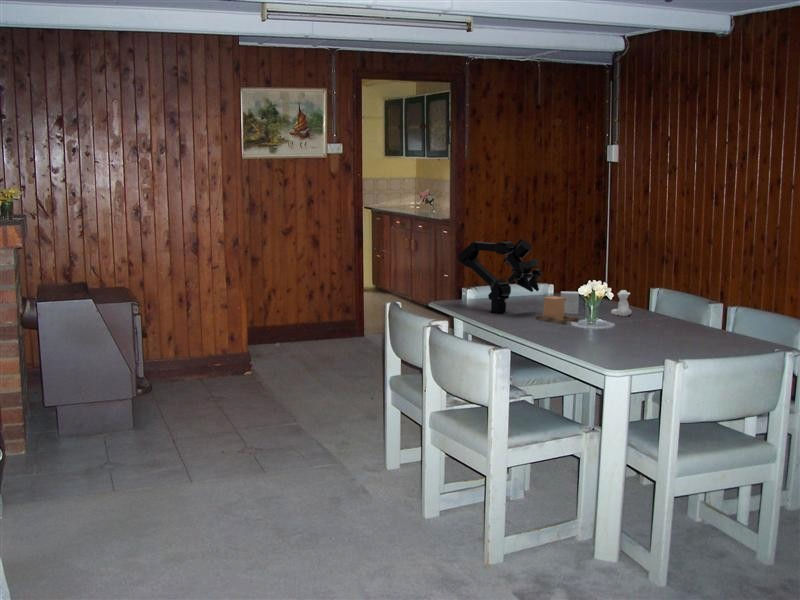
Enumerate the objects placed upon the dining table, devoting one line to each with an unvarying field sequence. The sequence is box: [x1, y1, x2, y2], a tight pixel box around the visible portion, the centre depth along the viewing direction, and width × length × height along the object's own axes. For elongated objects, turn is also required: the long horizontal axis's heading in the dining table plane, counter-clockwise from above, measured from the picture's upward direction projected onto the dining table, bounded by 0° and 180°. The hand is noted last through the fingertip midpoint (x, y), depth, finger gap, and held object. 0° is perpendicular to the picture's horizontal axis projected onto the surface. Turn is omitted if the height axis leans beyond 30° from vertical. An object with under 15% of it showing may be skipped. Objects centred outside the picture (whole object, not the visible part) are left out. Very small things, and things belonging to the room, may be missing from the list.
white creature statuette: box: [610, 289, 632, 317], centre depth 404 cm, size 10×9×12 cm
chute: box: [535, 314, 580, 326], centre depth 383 cm, size 18×10×3 cm, turn 43°
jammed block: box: [542, 295, 565, 320], centre depth 385 cm, size 6×7×10 cm
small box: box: [559, 290, 580, 315], centre depth 404 cm, size 8×6×10 cm
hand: (535, 291), depth 391 cm, fingers open, 4 cm apart
